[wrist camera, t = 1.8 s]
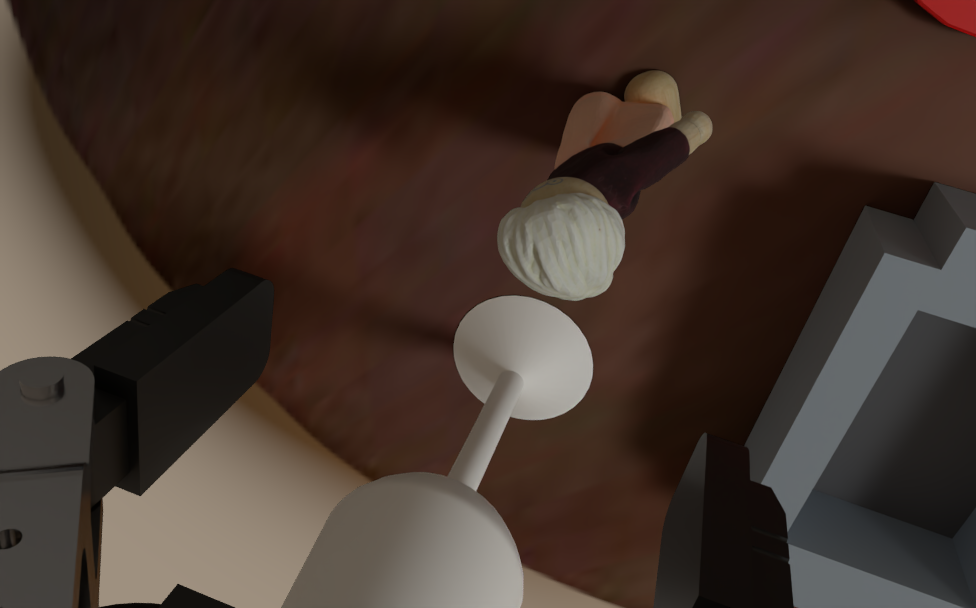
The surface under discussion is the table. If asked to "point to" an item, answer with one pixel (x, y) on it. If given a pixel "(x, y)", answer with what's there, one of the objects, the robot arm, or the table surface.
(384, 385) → the table surface
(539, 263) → the grandmother figurine
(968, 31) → the tow hook
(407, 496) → the champagne flute
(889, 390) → the well block
